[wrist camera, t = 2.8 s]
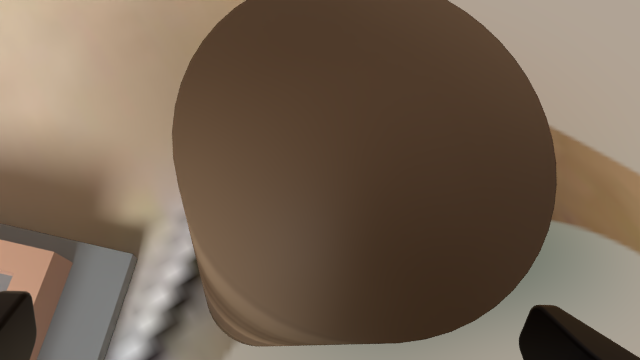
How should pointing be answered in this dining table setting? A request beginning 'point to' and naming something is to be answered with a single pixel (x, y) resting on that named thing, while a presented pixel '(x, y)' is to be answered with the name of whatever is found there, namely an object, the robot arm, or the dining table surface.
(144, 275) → the dining table surface
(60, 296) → the board
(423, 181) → the walnut pin
